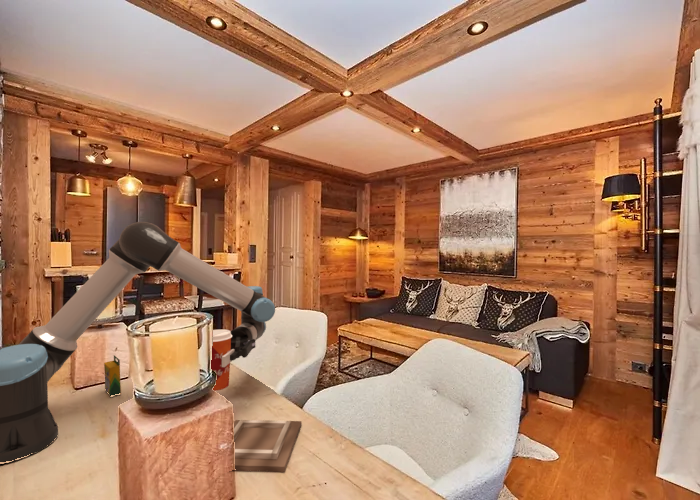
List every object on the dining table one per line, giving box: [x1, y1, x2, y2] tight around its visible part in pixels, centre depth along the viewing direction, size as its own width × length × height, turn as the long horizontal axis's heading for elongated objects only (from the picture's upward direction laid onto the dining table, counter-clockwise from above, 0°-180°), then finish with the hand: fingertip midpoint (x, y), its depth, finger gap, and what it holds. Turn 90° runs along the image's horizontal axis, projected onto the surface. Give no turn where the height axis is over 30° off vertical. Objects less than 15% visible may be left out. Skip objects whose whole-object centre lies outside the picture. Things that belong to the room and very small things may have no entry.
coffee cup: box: [211, 328, 232, 392], centre depth 92 cm, size 8×8×15 cm
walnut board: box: [233, 419, 302, 473], centre depth 80 cm, size 18×18×2 cm
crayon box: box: [103, 354, 122, 397], centre depth 109 cm, size 7×3×12 cm, turn 48°
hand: (209, 361), depth 87 cm, fingers closed on coffee cup, 7 cm apart
